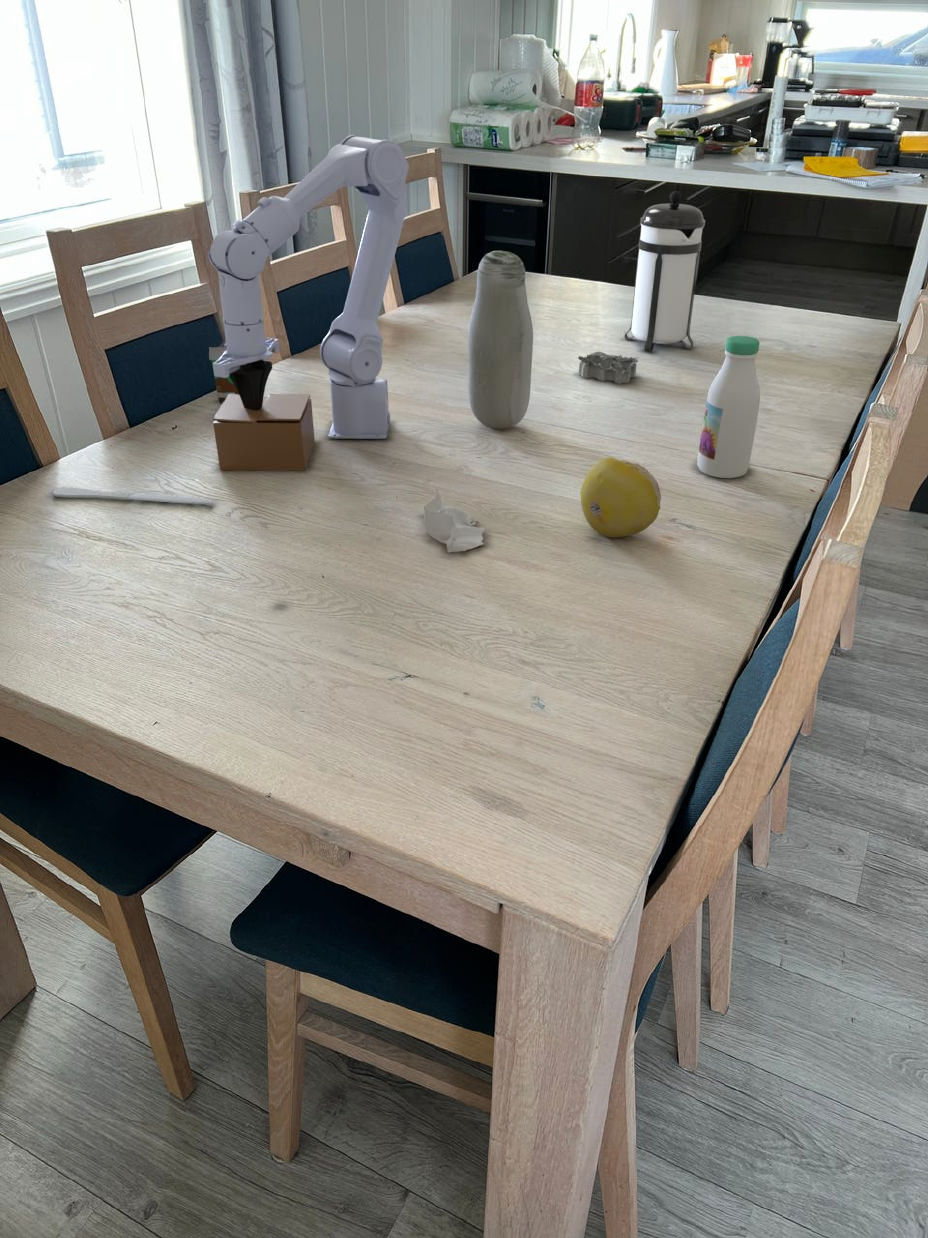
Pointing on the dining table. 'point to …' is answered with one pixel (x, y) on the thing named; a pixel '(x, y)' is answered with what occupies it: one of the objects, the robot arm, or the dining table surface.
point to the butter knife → (127, 496)
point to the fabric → (451, 526)
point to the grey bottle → (500, 342)
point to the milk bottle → (731, 412)
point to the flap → (237, 410)
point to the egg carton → (608, 367)
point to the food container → (222, 384)
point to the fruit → (619, 498)
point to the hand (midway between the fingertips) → (253, 410)
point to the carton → (269, 436)
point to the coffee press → (666, 273)
